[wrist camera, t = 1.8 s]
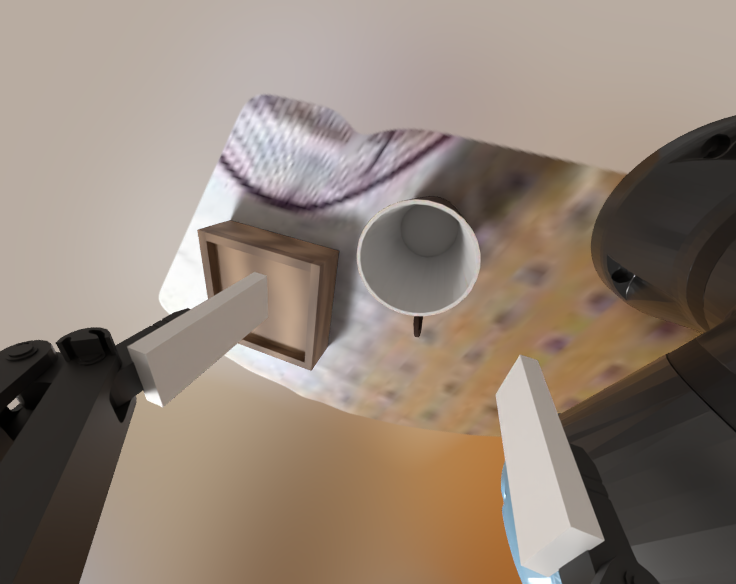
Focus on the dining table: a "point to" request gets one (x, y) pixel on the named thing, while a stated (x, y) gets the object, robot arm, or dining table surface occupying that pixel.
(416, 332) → the coffee mug
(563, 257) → the dining table surface
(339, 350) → the dining table surface
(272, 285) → the wooden tray
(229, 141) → the dining table surface
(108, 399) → the robot arm
